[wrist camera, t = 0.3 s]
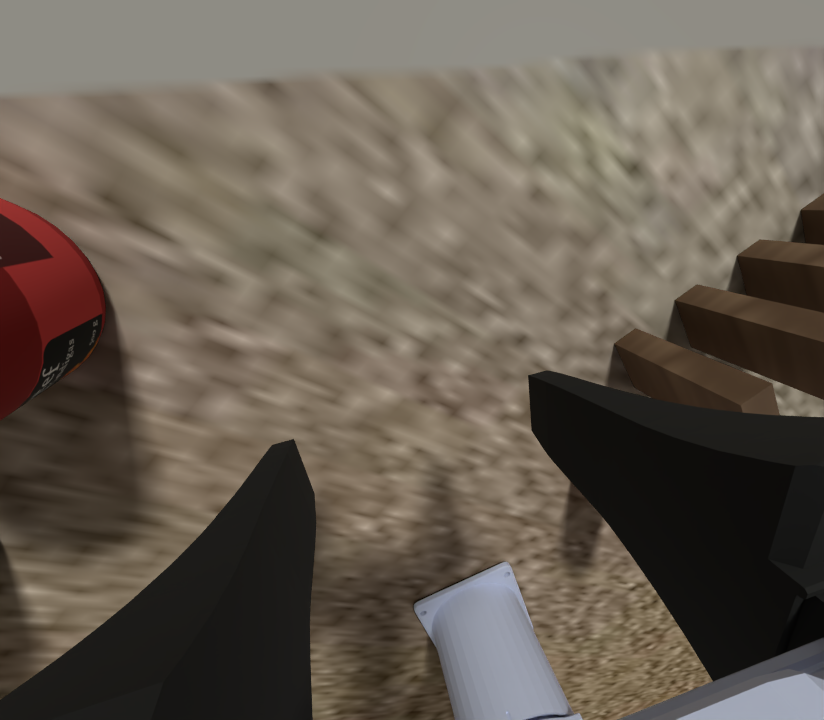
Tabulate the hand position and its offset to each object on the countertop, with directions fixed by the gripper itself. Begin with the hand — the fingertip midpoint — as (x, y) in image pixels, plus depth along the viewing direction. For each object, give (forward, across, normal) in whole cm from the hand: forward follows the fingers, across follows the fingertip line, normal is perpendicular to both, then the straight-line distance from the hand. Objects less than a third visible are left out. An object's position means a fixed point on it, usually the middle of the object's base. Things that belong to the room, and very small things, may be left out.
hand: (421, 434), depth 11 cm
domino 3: (+10, -20, +4) cm, 22 cm away
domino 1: (+10, -16, +6) cm, 19 cm away
